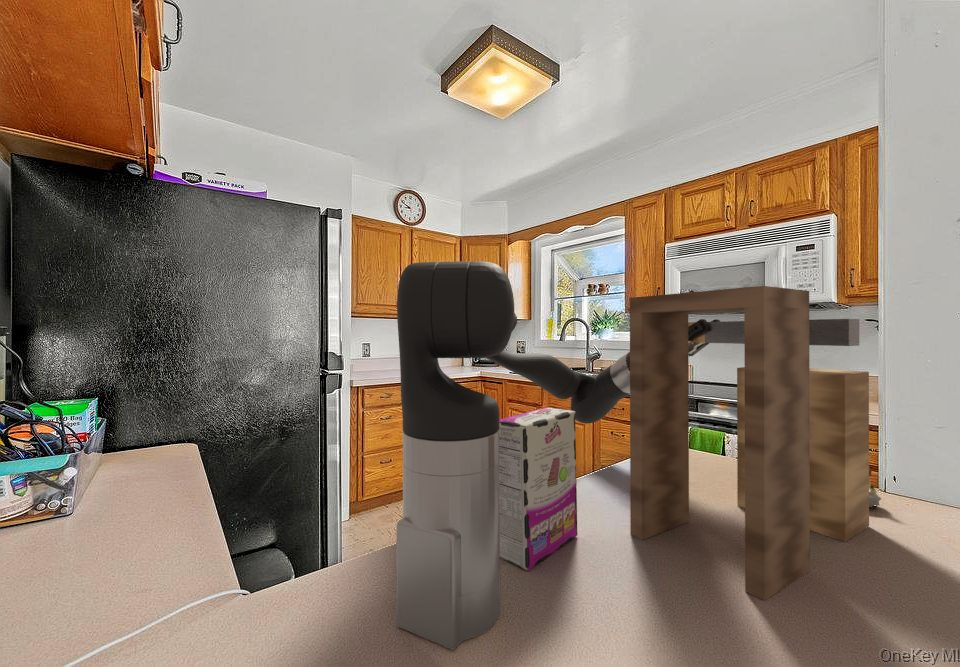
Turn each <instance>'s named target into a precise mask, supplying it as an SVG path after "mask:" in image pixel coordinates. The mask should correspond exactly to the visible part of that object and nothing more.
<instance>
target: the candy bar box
mask: <svg viewBox="0 0 960 667" xmlns="http://www.w3.org/2000/svg"><path fill="white" fill-rule="evenodd" d="M576 439H577V438H576V420H575V411H571V409H564V408H557V407H555V408H554V407H544V408H543V407H542V408H539V409H534V410H531V411H527V412H524V413H523V412H522V413H519V414H516V415H511V416H508V417H505V418H499V458H500V460H499V495H500V560H503V561H505V562H507V563H509V564H512V565H514V566H517V567H518V568H520V569H523V570H525V571H531V570H532V569H533V568H535V567H537V566H538V565H539V564H540V563H542V562H543V561H544V560H546V559H547V558H549V557H551V555H553V554H555V552H557V551H558V550H560V549H561V548H562V547H564V546H565V545H566V544H568V543H570V542H571V540H573V539H575V538H576V537H577V536H578V535H579V534H578V533H579V532H578V501H577V500H578V497H577V495H578V494H577V492H578V491H577V489H578V488H577V448H576V447H577V446H576V445H577V444H576V443H577V440H576Z"/></svg>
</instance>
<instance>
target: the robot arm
mask: <svg viewBox="0 0 960 667" xmlns="http://www.w3.org/2000/svg"><path fill="white" fill-rule="evenodd" d="M396 318H397V319H396V320H397V322H396V323H397V332H398V333H397V335H398V350H399V366H400V368H399V369H400V370H399V371H400V401H401V402H400V403H401V410H402V411H401V412H402V518H401V519H399V520H398V521H397V522H396V626H397V627H398V628H401V629H402V630H405V631H408V632H410V633H412V634H414V635H417V636H419V637H422V638H424V639H426V640H429V641H431V642H434V643H436V644H439V645H441V646H443V647H445V648H447V649H449V650H455V649H456V648H458V646H459V645H460V644H461V643H462V642H464V641H466V640H470V639H473V638H475V637H477V636H479V635H482V634H484V633H485V632H487V631H488V630H489V629H490V628H491V627H493V625H494V624H495V623H496V622H497V620H498V618H499V615H500V613H501V563H500V562H501V558H500V495H499V460H500V458H499V420H500V407H499V405H498V402H497V401H496V400H495V398H493V397H492V396H490V395H488V394H484V393H483V392H479V391H477V390H474V389H471V388H468V387H466V386H464V385H462V384H460V383H458V382H457V381H455V380H454V379H452V378H451V377H449V376H448V375H447V374H445V373H444V371H443V370H442V369H441V366H440V363H439V359H487V360H489V361H490V362H493V363H495V364H497V365H498V366H500V367H502V368H504V369H506V370H508V371H510V372H513V373H514V374H516V375H519V376H521V377H522V378H525V379H527V380H529V381H530V382H533V384H535V385H537V386H538V387H540V388H541V389H542V390H544V391H546V392H547V393H549V394H550V395H552V396H553V397H555V398H557V399H559V400H567V399H569V398H570V410H571V411H575V421H577V422H578V423H581V424H587V425H588V424H593V423H597V422H598V421H600V420H602V419H603V418H604V417H606V416H607V414H608V413H609V412H611V410H612V409H613V408H614V407H615V406H616V405H617V404H618V402H619V401H621V400H622V399H624V398H626V397H628V396H630V351H628V352H627V353H625V354H624V355H623V356H621V357H619V358H618V359H617V360H616V361H615V362H613V363H612V364H611V365H610V366H608V367H606V368H605V369H603V370H602V371H601V372H598V374H597V376H596V377H594V376H591V375H588V374H585V373H582V372H579V371H575V370H573V369H572V368H570V367H569V366H567V365H566V364H565V363H563V361H561V360H560V359H558V358H557V357H554V356H553V355H550V354H545V353H534V352H533V353H518V352H513V351H512V352H510V351H508V350H505V349H506V347H507V346H508V344H509V342H510V339H511V336H512V333H513V331H514V330H515V328H516V326H517V324H518V316H517V314H516V313H515V298H514V293H513V287H512V284H511V281H510V278H509V276H508V275H507V273H506V271H505V270H504V269H503V268H502V267H501V266H500V265H499V264H496V263H493V262H489V261H484V260H483V261H482V260H475V261H474V260H472V261H469V260H466V261H465V260H464V261H463V260H461V261H459V260H457V261H422V262H421V261H420V262H413V263H411V264H410V263H409V264H408V265H407V266H406V267H405V268H404V269H403V271H402V272H401V275H400V277H399V281H398V287H397V295H396ZM694 322H695V323H694V324H692V325H690V326H689V327H688V357H694V356H695V355H696V354H697V353H698V352H700V351H702V350H703V349H705V347H707V346H708V345H710V343H690V342H691V341H690V340H694V339H696V338H697V337H699V336H701V335H703V334H704V333H706V332H708V331H709V330H710V326H709V325H708V323H707V322H708V321H707V320H706V319H705V318H701V319H699V320H697V321H694ZM710 322H721V320H720V319H717V318H716V319H713V320H711V321H710Z"/></svg>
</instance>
